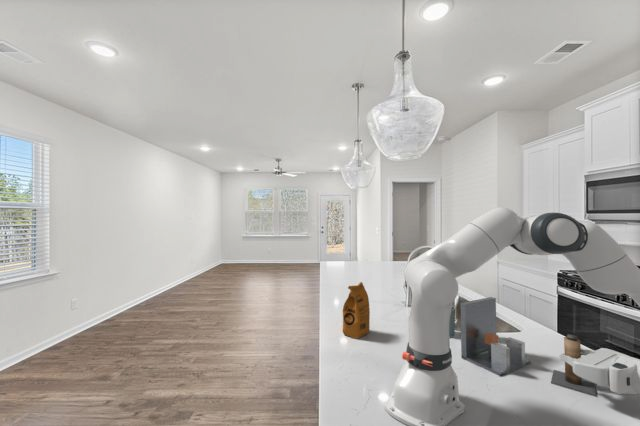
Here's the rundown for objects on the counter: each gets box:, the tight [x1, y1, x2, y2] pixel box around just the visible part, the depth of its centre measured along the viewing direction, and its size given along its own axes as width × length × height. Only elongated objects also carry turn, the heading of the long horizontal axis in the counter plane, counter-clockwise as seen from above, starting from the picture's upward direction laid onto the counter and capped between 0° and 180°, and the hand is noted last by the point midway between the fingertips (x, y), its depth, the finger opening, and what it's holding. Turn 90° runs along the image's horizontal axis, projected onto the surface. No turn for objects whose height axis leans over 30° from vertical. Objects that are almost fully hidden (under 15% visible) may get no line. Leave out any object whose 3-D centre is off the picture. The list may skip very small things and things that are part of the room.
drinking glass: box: [449, 305, 456, 338], centre depth 129 cm, size 10×10×12 cm
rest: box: [550, 369, 597, 397], centre depth 89 cm, size 10×10×1 cm
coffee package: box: [342, 281, 371, 340], centre depth 130 cm, size 10×12×22 cm
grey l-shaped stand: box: [460, 296, 532, 377], centre depth 104 cm, size 18×14×20 cm
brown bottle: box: [563, 334, 582, 385], centre depth 90 cm, size 4×4×14 cm
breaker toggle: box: [485, 333, 499, 356], centre depth 105 cm, size 3×3×7 cm
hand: (568, 353), depth 91 cm, fingers open, 8 cm apart
